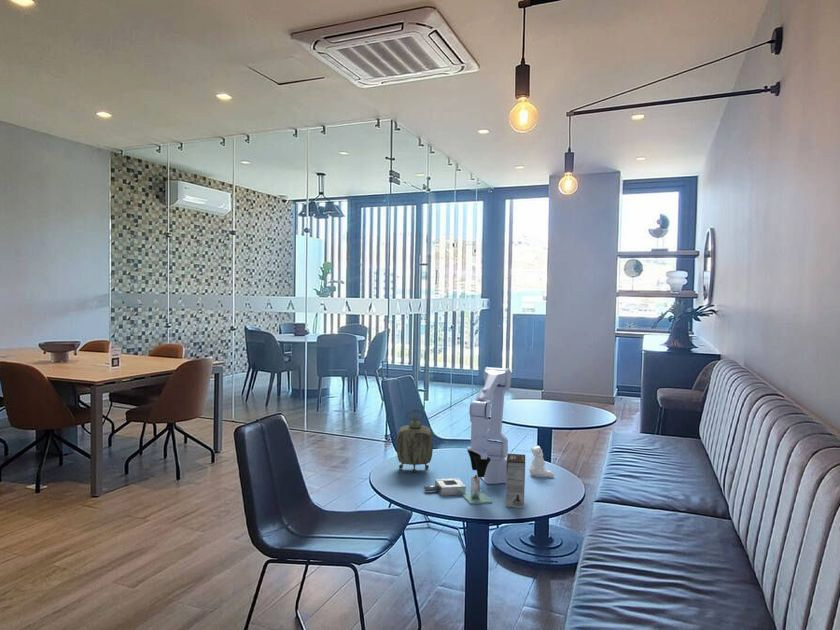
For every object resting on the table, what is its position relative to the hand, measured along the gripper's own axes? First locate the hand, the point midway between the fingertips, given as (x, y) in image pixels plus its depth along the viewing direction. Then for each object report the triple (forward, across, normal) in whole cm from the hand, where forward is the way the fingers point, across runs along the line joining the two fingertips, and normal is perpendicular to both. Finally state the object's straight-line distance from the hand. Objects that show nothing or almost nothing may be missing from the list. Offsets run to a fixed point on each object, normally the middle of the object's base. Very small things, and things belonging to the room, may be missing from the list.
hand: (478, 473), depth 191 cm
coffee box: (+10, +4, +12) cm, 16 cm away
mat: (+9, 0, 0) cm, 9 cm away
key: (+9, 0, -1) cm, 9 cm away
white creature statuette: (+10, -24, +32) cm, 41 cm away
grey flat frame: (+9, -9, -10) cm, 17 cm away
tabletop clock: (+10, -32, -18) cm, 38 cm away
